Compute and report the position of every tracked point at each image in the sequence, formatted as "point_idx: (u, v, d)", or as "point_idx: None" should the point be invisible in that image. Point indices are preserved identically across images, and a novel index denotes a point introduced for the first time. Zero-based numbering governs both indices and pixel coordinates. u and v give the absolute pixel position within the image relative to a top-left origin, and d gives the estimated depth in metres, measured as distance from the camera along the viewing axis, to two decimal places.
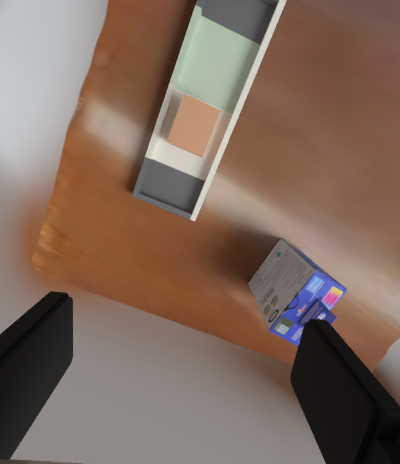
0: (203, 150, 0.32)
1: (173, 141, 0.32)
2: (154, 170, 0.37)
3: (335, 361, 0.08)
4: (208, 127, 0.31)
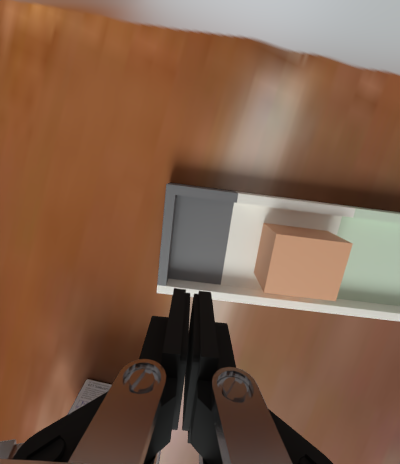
0: (273, 291, 0.20)
1: (278, 243, 0.19)
2: (217, 207, 0.22)
3: (194, 322, 0.09)
4: (308, 290, 0.20)
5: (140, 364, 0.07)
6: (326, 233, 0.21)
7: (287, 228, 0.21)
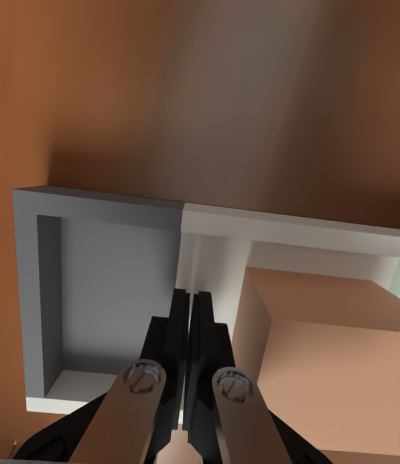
0: None
1: (279, 340, 0.08)
2: (148, 236, 0.11)
3: (194, 322, 0.09)
4: (347, 437, 0.09)
5: (140, 364, 0.07)
6: (377, 293, 0.10)
7: (295, 283, 0.10)
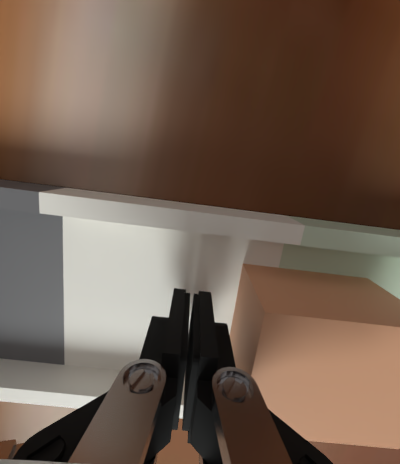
0: None
1: (271, 333, 0.08)
2: (30, 221, 0.11)
3: (194, 322, 0.09)
4: (339, 430, 0.09)
5: (140, 364, 0.07)
6: (371, 289, 0.10)
7: (290, 279, 0.10)
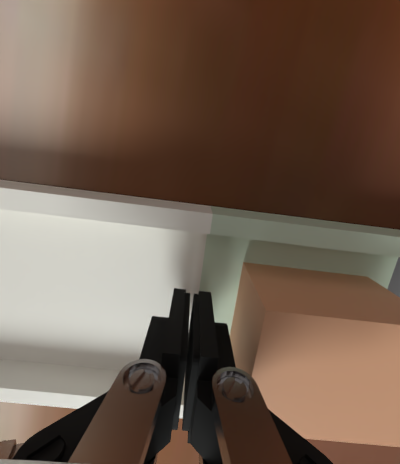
0: None
1: (272, 331, 0.08)
2: None
3: (194, 322, 0.09)
4: (340, 428, 0.09)
5: (140, 364, 0.07)
6: (371, 288, 0.10)
7: (291, 278, 0.10)
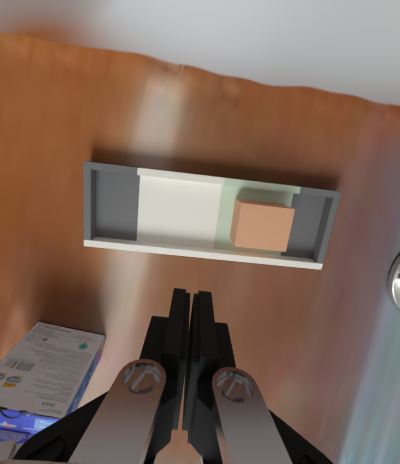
0: (241, 245, 0.28)
1: (243, 209, 0.27)
2: (127, 180, 0.30)
3: (194, 322, 0.09)
4: (266, 244, 0.28)
5: (140, 364, 0.07)
6: (280, 204, 0.30)
7: (252, 201, 0.29)
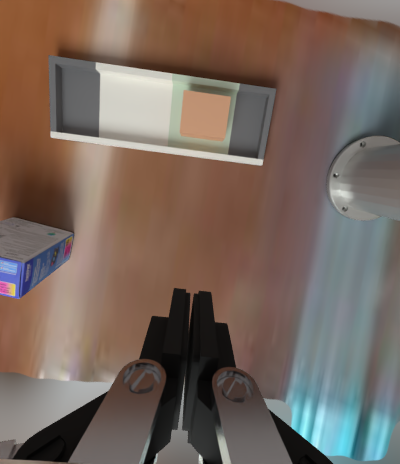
0: (185, 131, 0.32)
1: (185, 96, 0.31)
2: (89, 78, 0.34)
3: (194, 322, 0.09)
4: (207, 130, 0.32)
5: (140, 364, 0.07)
6: None
7: None
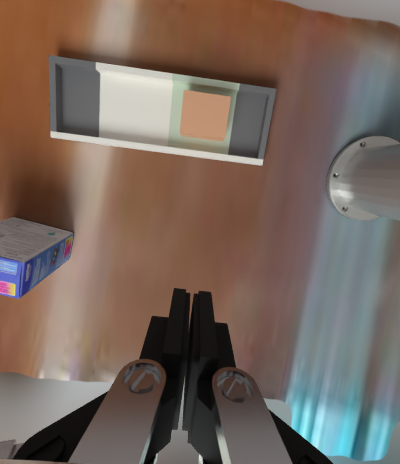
0: (185, 131, 0.32)
1: (186, 96, 0.31)
2: (89, 78, 0.34)
3: (194, 322, 0.09)
4: (207, 130, 0.32)
5: (140, 364, 0.07)
6: None
7: None
